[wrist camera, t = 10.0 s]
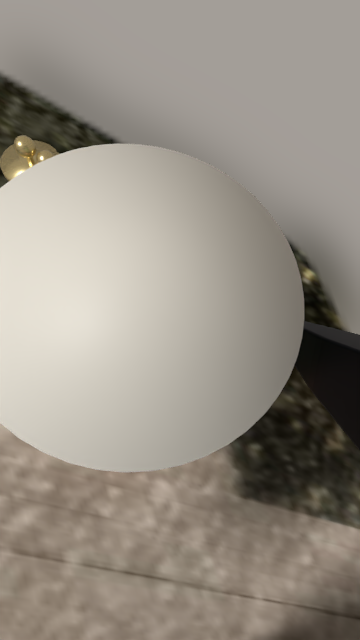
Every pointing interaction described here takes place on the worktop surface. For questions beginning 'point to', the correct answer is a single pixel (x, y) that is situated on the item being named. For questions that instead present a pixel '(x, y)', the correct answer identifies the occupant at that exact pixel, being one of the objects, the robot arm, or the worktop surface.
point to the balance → (24, 156)
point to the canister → (140, 308)
